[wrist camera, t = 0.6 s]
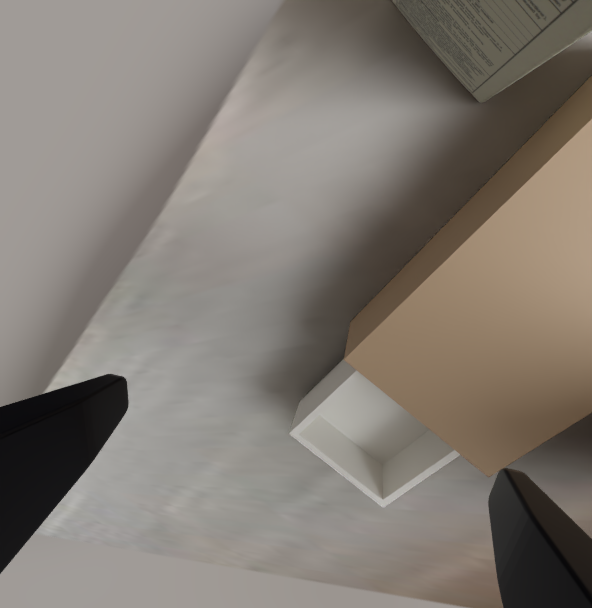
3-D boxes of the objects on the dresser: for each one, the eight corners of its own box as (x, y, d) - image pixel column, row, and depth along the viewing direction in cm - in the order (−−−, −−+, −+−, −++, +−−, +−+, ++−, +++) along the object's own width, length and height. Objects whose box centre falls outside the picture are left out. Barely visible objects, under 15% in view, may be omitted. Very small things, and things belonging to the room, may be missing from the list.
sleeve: (774, 197, 15) (912, 210, 11) (468, 418, 22) (488, 477, 18) (618, 48, 15) (706, 7, 11) (350, 321, 21) (343, 359, 17)
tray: (624, 287, 17) (669, 311, 15) (382, 467, 24) (383, 507, 21) (515, 191, 17) (541, 197, 14) (299, 401, 23) (288, 433, 21)
